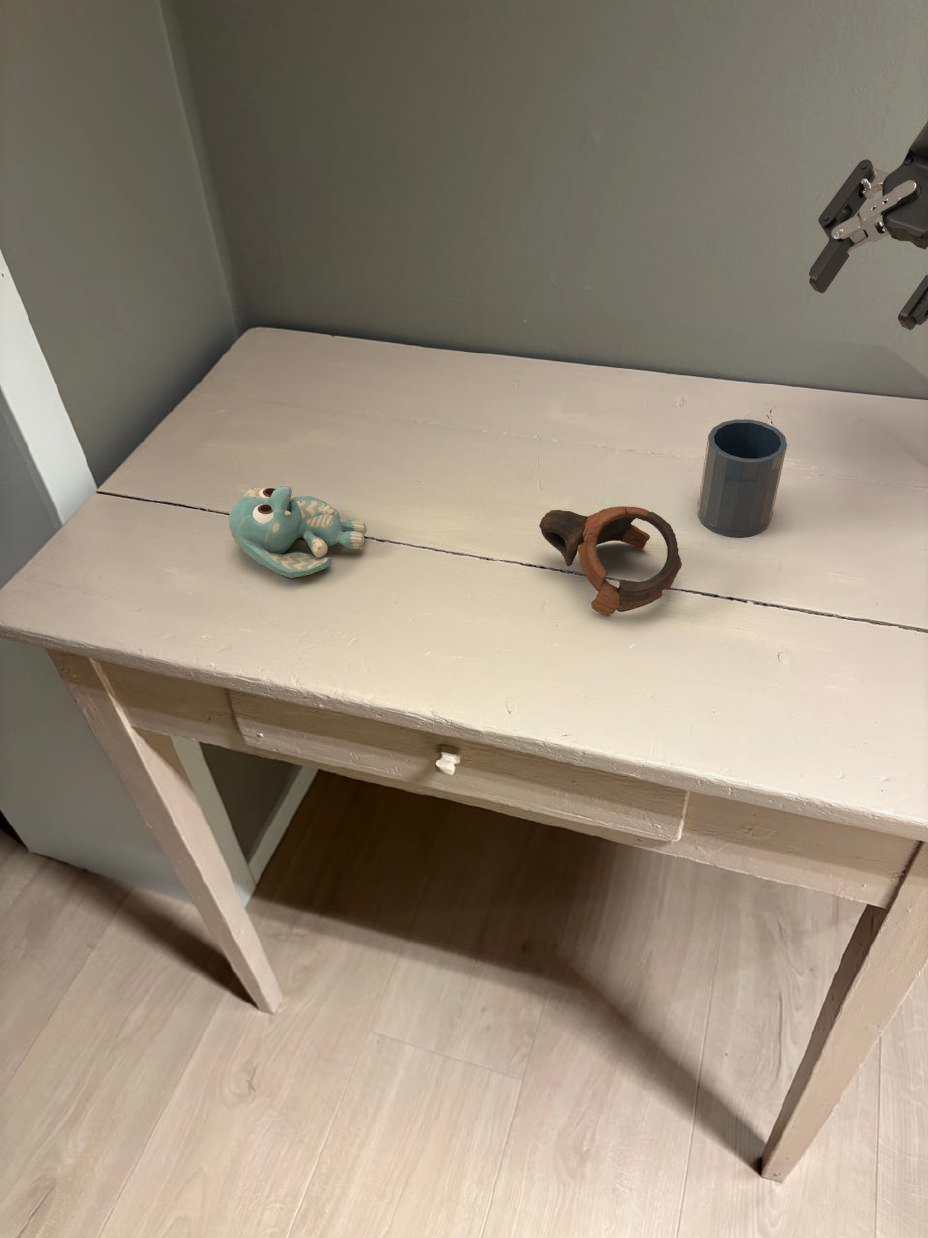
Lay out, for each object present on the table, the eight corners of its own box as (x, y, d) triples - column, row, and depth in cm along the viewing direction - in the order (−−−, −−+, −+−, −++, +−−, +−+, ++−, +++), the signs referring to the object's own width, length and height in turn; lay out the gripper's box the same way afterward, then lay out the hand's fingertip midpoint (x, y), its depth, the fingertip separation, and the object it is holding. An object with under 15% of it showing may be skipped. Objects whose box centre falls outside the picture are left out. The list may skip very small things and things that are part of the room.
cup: (748, 487, 89) (762, 413, 84) (784, 528, 85) (801, 452, 79) (685, 502, 88) (695, 427, 83) (718, 544, 84) (731, 468, 78)
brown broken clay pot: (677, 549, 84) (703, 514, 76) (644, 647, 82) (668, 621, 74) (548, 502, 85) (561, 462, 77) (512, 597, 82) (521, 566, 74)
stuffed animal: (361, 538, 78) (213, 519, 77) (356, 601, 83) (217, 584, 82) (375, 462, 86) (240, 443, 85) (369, 524, 91) (242, 507, 90)
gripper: (895, 70, 76) (772, 256, 79) (1071, 111, 67) (925, 316, 71) (917, 126, 81) (802, 296, 85) (1081, 170, 73) (946, 357, 76)
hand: (858, 305), depth 78 cm, fingers open, 8 cm apart
